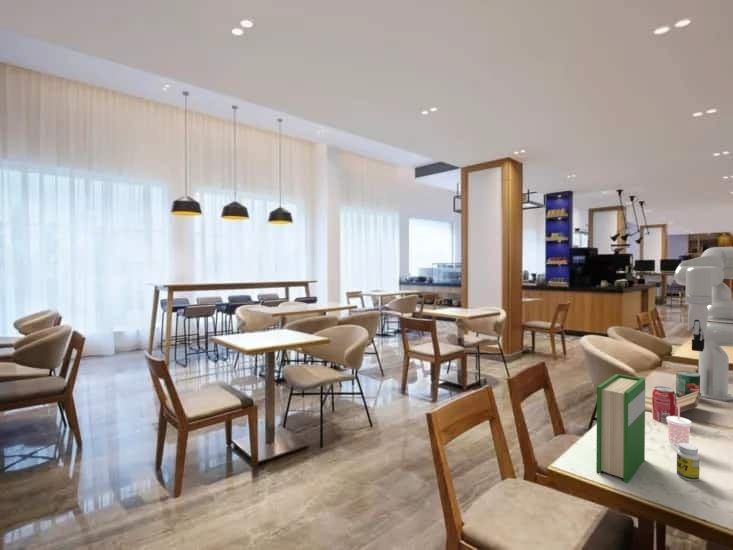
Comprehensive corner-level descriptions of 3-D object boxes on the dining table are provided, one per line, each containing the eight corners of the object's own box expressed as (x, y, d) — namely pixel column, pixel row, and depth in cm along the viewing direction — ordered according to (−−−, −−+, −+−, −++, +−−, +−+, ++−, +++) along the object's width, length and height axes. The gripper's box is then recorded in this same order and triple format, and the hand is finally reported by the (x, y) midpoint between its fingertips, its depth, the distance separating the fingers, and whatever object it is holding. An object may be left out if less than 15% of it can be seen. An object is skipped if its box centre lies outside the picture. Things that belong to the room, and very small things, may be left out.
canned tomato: (697, 404, 160) (697, 377, 159) (673, 398, 166) (673, 373, 166) (702, 399, 165) (702, 373, 164) (678, 394, 171) (679, 369, 171)
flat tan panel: (644, 398, 166) (644, 395, 166) (672, 404, 160) (672, 400, 160) (635, 410, 154) (635, 406, 153) (665, 417, 147) (665, 413, 147)
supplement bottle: (672, 472, 109) (672, 442, 108) (687, 471, 109) (688, 441, 109) (687, 482, 104) (688, 450, 104) (704, 481, 104) (704, 449, 104)
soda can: (667, 418, 146) (668, 386, 146) (681, 425, 139) (681, 392, 139) (647, 417, 147) (647, 385, 146) (659, 425, 140) (660, 391, 139)
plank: (675, 403, 159) (672, 400, 160) (701, 394, 153) (698, 390, 154) (668, 416, 146) (665, 412, 147) (697, 406, 140) (694, 402, 141)
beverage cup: (684, 454, 118) (685, 408, 118) (661, 446, 124) (662, 402, 123) (695, 450, 121) (695, 405, 121) (672, 442, 127) (672, 399, 126)
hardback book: (627, 483, 104) (628, 392, 103) (596, 472, 109) (596, 386, 108) (644, 459, 116) (645, 378, 115) (615, 451, 121) (616, 373, 120)
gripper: (688, 298, 154) (687, 345, 154) (682, 301, 142) (682, 352, 143) (713, 299, 149) (713, 347, 149) (710, 302, 137) (709, 355, 137)
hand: (697, 349), depth 146 cm, fingers open, 3 cm apart
